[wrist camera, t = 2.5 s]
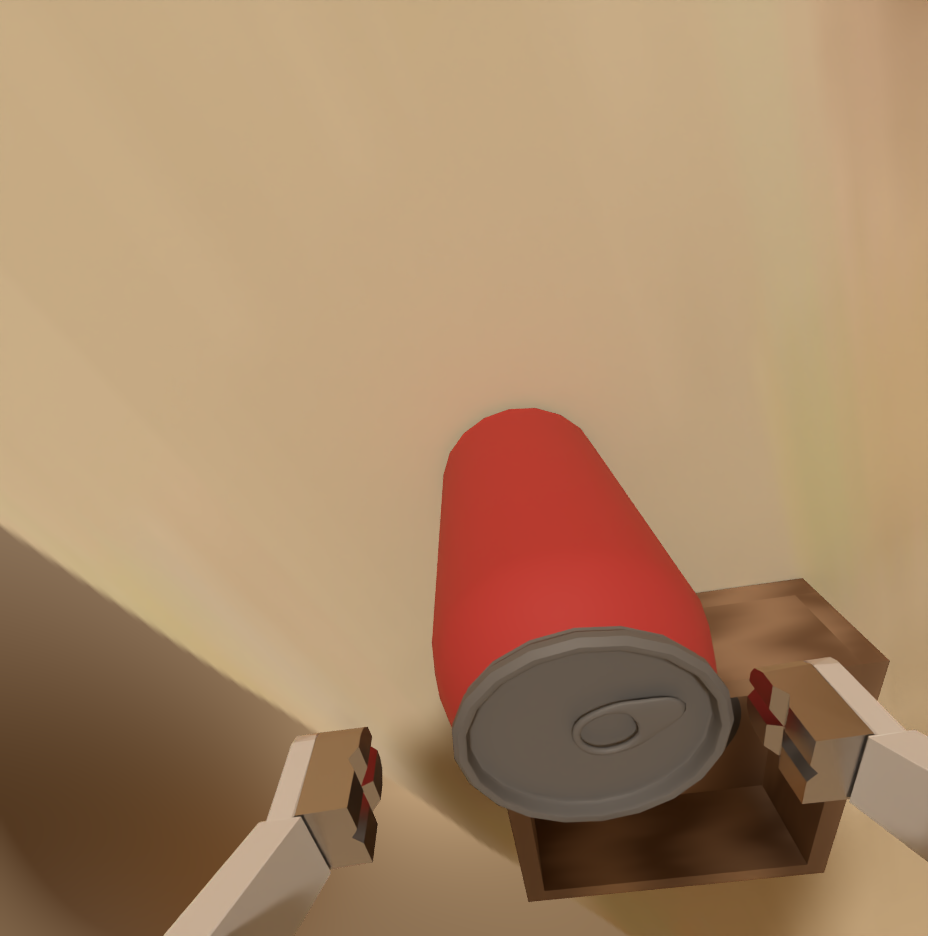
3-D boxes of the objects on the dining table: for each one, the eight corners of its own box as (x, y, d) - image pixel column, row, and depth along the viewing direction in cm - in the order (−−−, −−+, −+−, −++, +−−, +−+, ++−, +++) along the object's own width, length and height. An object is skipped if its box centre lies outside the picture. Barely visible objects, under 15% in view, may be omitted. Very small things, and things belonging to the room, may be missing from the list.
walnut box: (802, 578, 22) (889, 660, 18) (767, 776, 29) (823, 872, 25) (480, 623, 23) (485, 712, 19) (517, 804, 30) (528, 902, 26)
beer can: (618, 500, 20) (799, 780, 10) (488, 560, 22) (517, 866, 11) (556, 373, 18) (707, 558, 7) (414, 449, 19) (358, 704, 8)
